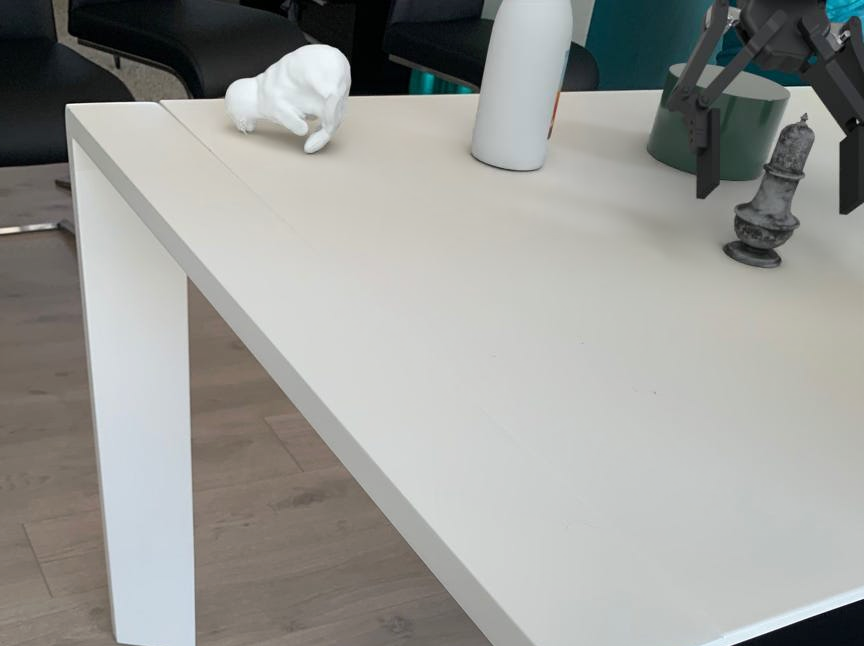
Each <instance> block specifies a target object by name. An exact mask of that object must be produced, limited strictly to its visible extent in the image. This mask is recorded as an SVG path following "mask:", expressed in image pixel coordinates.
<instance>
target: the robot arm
mask: <svg viewBox="0 0 864 646" xmlns="http://www.w3.org/2000/svg"><path fill="white" fill-rule="evenodd" d="M827 2H828V0H736V7H735V6H731V5H730V1H729V0H714V2H713V3H712V4H711V6H709V7H708V9H707V11H706V12H705V13H704V14H703V16H702V18H701V19H702V21H701V28H700V35H699V39H698V40H697V43H696V45H695V46H694V49H693V50H692V53H691V54H690V56H689V58H688V60H687V61H686V63H687V64H686V66H685V68H684V70H683V71H682V73H681V75H680V77H679V79H678V81H677V83H676V85H675V87H674V89H673V91H672V93H671V94H670V96H669V98H668V100H667V102H666V107H667V109H668V110H669V111H670V112H676V111H679V112H681V113H682V114H683V116H682V118H681V121H682V123H683V125H684V126H686V127H688V151H689V154H690V155H694V156H697V160H696V174H695V177H696V178H695V179H696V180H695V183H696V184H695V187H696V188H695V198H696V199H698V200H705V199H706V198H708V196H710V195H711V193H713V191H714V190H716V189H717V188H718V187H719V186H720V183H721V179H720V109H719V108H711V109H710V111H709V106H710V105H711V104H712V103H713V102H714V101H715V100H716V99H717V98H718V96H719V95H720V94H721V93H722V92H723V91H724V90H725V89H726V88H727V87H728V85H729V84H730V83H731V82H732V81H733V80H734V79H735V78H736V77H737V75H738V74H739V73H740V72H741V71H744V69H745V68H746V67H747V66H748V64H749V63H751V61H752V62H753V63H754V64H756V66H758V70H760V71H773V70H777V71H779V72H782V73H784V74H793V73H794V72H795V74H796V75H797V77H798V78H799V79H800V81H801V82H802V83H804V84H809V86H810V87H811V88H812V90H813V91H814V92H815V94H816V95H817V97H818V98H819V99H820V102H822V104H823V106H824V107H825V108H826V110H827V111H828V113H829V114H830V115H831V117H832V118H833V119H834V121H835V122H836V123H837V125H838V127H839V128H840V129H841V131H842V132H843V133H844V135H845V137H844V138H843V139H842V140H841V141H839V142H838V144H839V145H838V152H839V153H838V196H839V197H838V215H841V216H843V215H844V216H848V215H849V214H850V213H852V212H854V211H855V210H856V209H857V208H858V207H860V206H862V205H863V204H864V35H863V34H864V32H863V24H862V20H861V17H859V16H858V15H854V14H853V15H851V16H850V17H849V18H848V19H847V20H846V21H844V22H840V21H838V22H837V21H831V19H830V18H829V16H828V12H827V8H826V6H827ZM731 27H732V28H733V31H734V33H735V35H736V37H737V38H738V40H739V41H740V43H741V45H742V48H741V49H740V50H739V51H738V53H737V54H736V55H735V56H734V57H733V58H732V59H731V60H730V61H729V62H728V64H727V65H726V66H724V67H725V68H724V69H723V70H722V71H721V72H720V74H719V75H718V76H717V77H716V78H715V79H714V80H713V81H712V82H711V83H710V85H709V86H708V87H707V88H706V89H705V90H704V91H703V92H702V93H701V94H698V93H696V92H694V91H693V90H694V88H695V86H696V84H697V82H698V80H699V78H700V76H701V74H702V72H703V70H704V68H705V66H706V64H708V63H709V60H710V59H711V57H712V55H713V53H714V51H715V50H716V47H717V45H718V43H719V41H720V40H721V37H722V36H723V35H726V33H727V32H728V31H729V29H730V28H731ZM814 54H815V56H816V58H817V59H816V61H814V63H812V65H811V64H810V62H809V61H810V60H811V58H812V57H813V56H814Z"/></svg>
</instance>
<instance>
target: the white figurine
mask: <svg viewBox="0 0 864 646" xmlns="http://www.w3.org/2000/svg"><path fill="white" fill-rule="evenodd" d="M351 75H352V74H351V65H350V62H349V60H348V58H347V57H346V56H345V53H342V51H340V50H339V48H336V47H333V46H330V45H328V44H316V43H315V44H307V45H303V46H301V47H299V48H297V49H296V50H294V51H292V52H289V53H286V54H285V55H284V56H282V57H281V58H280V59H279V60H278V61H276V62H274V63H273V64H271V65H270V66H268V68H267V69H266V70H265V71H264V72H262V73H259V74H258V75H256V76H254V77H246V78H240V79H237V80H235V81H233V82H232V83H231V84H230V85H229V86H228V88H227V90H226V93H225V97H224V105H225V110H226V112H227V114H228V116H229V117H230V118H231V119H232V121H233V122H234V124H235V126H236V128H237V130H238V131H239V132H243V133H244V134H245V135H248V133H247V132H253V131H254V130H255V128H256V127H255V126H256V125H258V124H257V122H259V121H261V120H263V119H264V120H266V121H269V122H271V123H273V124H276V125H281V126H283V127H284V128H286V129H287V130H288V131H290V132H292V133H293V134H295V135H297V136H300V137H304V136H306V135H307V134H308V132H309V125H308V123H307V121H309V122H313V121H316V120H318V119H319V120H320V124H318V125H317V126H316V127H315V128H314V132H313V133H312V134H310V135H309V136H308V138H307V139H306V141H305V143H304V145H303V151H304V153H307V154H313V153H316V152H317V151H318V152H319V151H320V150H321V149H323V148H324V147H325V146H326V145H327V143H328V142H330V140H331V139H332V137H333V135H334V133H335V131H336V130H338V129H339V128H340V126H341V124H342V123H343V120H344V119H345V116H346V114H347V110H348V100H349V95H350V89H351V85H352V76H351ZM305 120H306V121H305Z"/></svg>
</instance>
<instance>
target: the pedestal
mask: <svg viewBox="0 0 864 646" xmlns="http://www.w3.org/2000/svg"><path fill="white" fill-rule="evenodd" d="M686 64H687V62H681V63H676V64H673V65H671V66H670V67H669V69H668V73H667V75H666V79H665V83H664V86H663V88H662V89H663V90H662V93H661V96H660V100H659V104H658V107H657V111H656V114H655V117H654V121H653V123H652V126H651V127H652V128H651V131H650V134H649V138H648V141H647V145H646V150H647V152H648V153H649V154H650V156H652V157H654V158H655V159H657V160H658V161H659V162H662V163H663V164H666V165H667V166H669V167H673V168H674V169H676V170H677V169H678V170H680V171H682V172H686V173H689V174H693V175H696V160H697V156H694V155H690V154H689V151H688V127H686V126H684V125H683V123H682V121H681V118H682V116H683V114H682V113H681V112H679V111H676V112H670V111H669V110H668V109H667V107H666V102H667V100H668V98H669V96H670V94H671V93H672V91H673V89H674V87H675V85H676V83H677V81H678V79H679V77H680V75H681V73H682V71H683V70H684V68H685V66H686ZM725 67H726V66H720V65H714V64H709V63H707V64H706V66H705V68H704V70H703V72H702V74H701V76H700V78H699V80H698V82H697V84H696V86H695V88H694V90H693V91H694V92H696V93H698V94H701V93H702V92H703V91H704V90H705V89H706V88H707V87H708V86H709V85H710V83H711V82H712V81H713V80H714V79H715V78H716V77H717V76H718V75H719V74H720V72H721V71H722V70H723V69H724V68H725ZM790 99H791V92H790V91H789V90H788V89H787V87H784V86H783V85H781V84H780V83H778V82H775V81H774V80H771V79H768V78H766V77H764V76H760V75H757V74H754V73H751V72H747V71H744V70H742V71H741V72H740V73H739V74H738V75H737V77H736V78H735V79H734V80H733V81H732V82H731V83H730V84H729V85H728V87H727V88H726V89H725V90H724V91H723V92H722V93H721V94H720V95H719V96H718V98H717V99H716V100H715V101H714V102H713V103H712V104H711V105H710V106H709V111H710V109H711V108H719V109H720V180H724V181H725V180H726V181H751V180H755V179H758V178H760V177H761V176H762V174H763V172H764V171H765V170H764V168H763V165H764V164H767V161H768V158H769V156H770V153H771V150H772V147H773V145H774V142H775V139H776V137H777V135H778V132H779V129H780V126H781V124H782V120H783V118H784V115H785V113H786V109H787V107H788V104H789V101H790Z"/></svg>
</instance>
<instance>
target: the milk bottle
mask: <svg viewBox="0 0 864 646" xmlns="http://www.w3.org/2000/svg"><path fill="white" fill-rule="evenodd" d="M572 7H573V6H572V2H571V0H502V2H501V3H500V6H499V8H498V10H497V13H496V15H495V19H494V22H493V26H492V30H491V34H490V39H489V44H488V48H487V53H486V58H485V65H484V69H483V75H482V80H481V86H480V91H479V97H478V102H477V106H476V107H477V108H476V113H475V119H474V123H473V130H472V136H471V141H470V142H471V143H470V151H471V154H472V156H473V157H474V158H475V159H477V160H479V161H481V162H482V163H485V164H488V165H491V166H494V167H497V168H502V169H506V170H514V171H533V170H537V169H539V168H542V166H543V164H544V163H545V162H546V161H545V160H546V157H547V153H548V150H549V145H550V141H551V136H552V131H553V127H554V123H555V119H556V115H557V111H558V106H559V102H560V98H561V97H560V96H561V92H562V88H563V83H564V80H565V79H564V78H565V73H566V70H567V66H568V65H567V64H568V61H569V60H568V59H569V55H570V50H571V45H572V43H571V42H572V37H573V30H574V29H573V27H574V26H573V25H574V24H573V23H574V19H573V18H574V17H573V9H572Z"/></svg>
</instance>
